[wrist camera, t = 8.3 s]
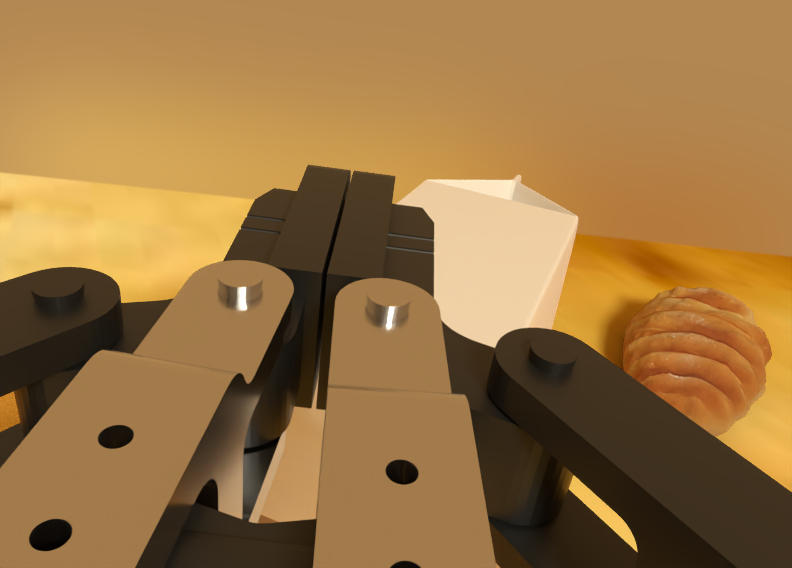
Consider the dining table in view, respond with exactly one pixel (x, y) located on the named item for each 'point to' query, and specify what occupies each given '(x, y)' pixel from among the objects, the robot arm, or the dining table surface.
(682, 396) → the pastry
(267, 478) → the robot arm
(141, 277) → the dining table surface
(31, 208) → the dining table surface
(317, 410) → the milk carton
